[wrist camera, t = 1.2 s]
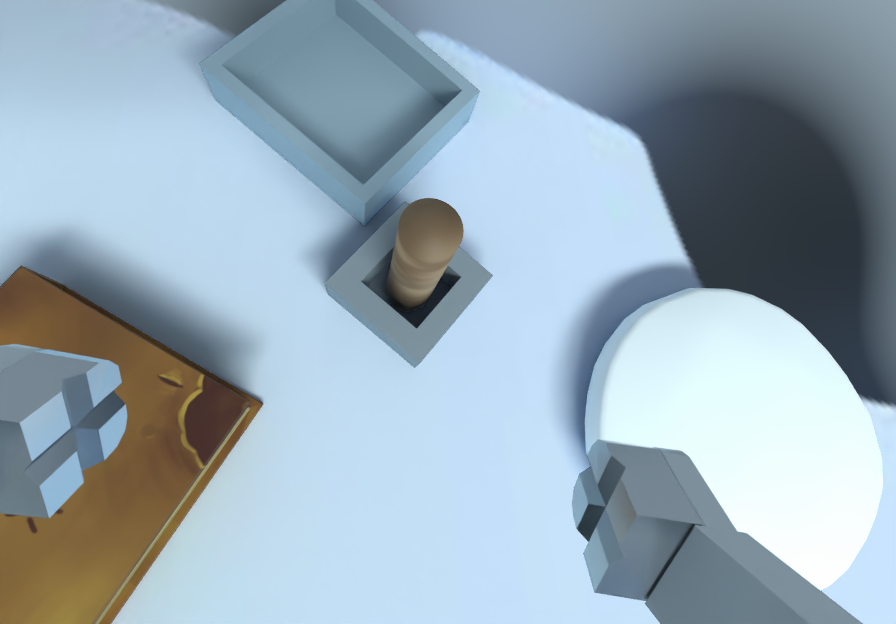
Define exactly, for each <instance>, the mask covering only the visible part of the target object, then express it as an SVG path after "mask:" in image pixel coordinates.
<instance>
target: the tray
mask: <svg viewBox="0 0 896 624" xmlns="http://www.w3.org/2000/svg"><path fill="white" fill-rule="evenodd" d="M199 65H200V67H201V69H202V71H203V73H204V76H205V78H206V80H207V82H208V84H209V87H210V89H211V91H212V93H213V95H214V98H215V100H216V101H217V102H218V103H220V104H221V105H222V106H223V107H224V108H225V109H227V110H228V111H229V112H230V113H231V114H233V115H234V116H235V117H236V118H237V119H238V120H240V121H241V122H242V123H243V124H244V125H246V126H247V127H248V128H249V129H250V130H251V131H253V132H254V133H255V134H256V135H257V136H259V137H260V138H261V139H262V140H263V141H264V142H266V143H267V144H268V145H269V146H270V147H272V148H273V149H274V150H275V151H276V152H277V153H279V154H280V155H281V156H282V157H283V158H284V159H286V160H287V161H288V162H289V163H290V164H292V165H293V166H294V167H295V168H296V169H297V170H299V171H300V172H301V173H302V174H303V175H305V176H306V177H307V178H308V179H309V180H310V181H312V182H313V183H314V184H315V185H316V186H318V187H319V188H320V189H321V190H322V191H323V192H325V193H326V194H327V195H328V196H329V197H331V198H332V199H333V200H334V201H335V202H336V203H338V204H339V205H340V206H341V207H342V208H344V209H345V210H346V211H347V212H348V213H349V214H351V215H352V216H353V217H354V218H355V219H357V220H358V221H359V222H360V223H361V224H362V225H364V226H365V225H366V224H367V223H368V222H369V221H370V220H371V219H372V218H373V217H374V216H375V215H376V214H377V213H378V212H379V211H380V210H381V209H382V208H383V207H384V206H385V205H386V204H387V203H388V202H389V201H390V200H391V199H392V198H393V197H394V196H395V195H396V194H397V193H398V192H399V191H400V190H401V189H402V188H403V187H404V186H405V185H406V184H407V183H408V182H409V181H410V180H411V179H412V178H413V177H414V176H415V175H416V174H417V173H418V172H419V171H420V170H421V169H422V168H423V167H424V166H425V165H426V164H427V163H428V162H429V161H430V160H431V159H432V158H433V157H434V156H435V155H436V154H437V153H438V152H439V151H440V150H441V149H442V148H443V147H444V146H445V145H446V144H447V143H448V142H449V141H450V140H451V139H452V138H453V137H454V136H455V135H456V134H457V133H458V132H459V131H460V130H461V129H462V128H463V127H464V126H465V125H466V124H467V123H468V122H469V119H470V117H471V114H472V111H473V109H474V106H475V103H476V100H477V98H478V95H479V92H480V91H479V90H478V89H477V88H476V87H475V86H474V85H472V84H471V83H470V82H469V81H468V80H466V79H465V78H464V77H463V76H462V75H461V74H459V73H458V72H457V71H456V70H455V69H453V68H452V67H451V66H450V65H449V64H448V63H446V62H445V61H444V60H443V59H442V58H440V57H439V56H438V55H437V54H436V53H435V52H433V51H432V50H431V49H430V48H429V47H427V46H426V45H425V44H424V43H423V42H422V41H420V40H419V39H418V38H417V37H416V36H414V35H413V34H412V33H411V32H410V31H408V30H407V29H406V28H405V27H404V26H403V25H401V24H400V23H399V22H398V21H397V20H396V19H394V18H393V17H392V16H391V15H389V14H388V13H387V12H386V11H385V10H384V9H382V8H381V7H380V6H379V5H378V4H376V3H375V2H374V1H373V0H286V1H285V2H283V3H282V4H280V5H279V6H278V7H276V8H275V9H274V10H272V11H271V12H269V13H268V14H267V15H265V16H264V17H262V18H261V19H260V20H258V21H257V22H256V23H254V24H253V25H251V26H250V27H249V28H247V29H246V30H245V31H243V32H242V33H240V34H239V35H238V36H236V37H235V38H233V39H232V40H231V41H229V42H228V43H227V44H225V45H224V46H222V47H221V48H220V49H218V50H217V51H215V52H214V53H213V54H211V55H210V56H209V57H207V58H206V59H204V60H203V61H202V62H200V63H199Z"/></svg>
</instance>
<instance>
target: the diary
mask: <svg viewBox="0 0 896 624" xmlns="http://www.w3.org/2000/svg"><path fill="white" fill-rule="evenodd" d="M10 344H19V345H24V346H30V347H36V348H41V349H45V350H46V349H49V350H55V351H60V352H66V353H71V354H76V355H82V356H87V357H93V358H98V359H104V360H109V361H111V362H113V363H114V364H116V365H118V367H119V371H120V376H121V380H122V383H121V384H120V385H119V387H118V388H117V389H116V390H115V391H114V392H115V393H116V394H117V395H118V396H119V397H120V398H121V400H122V401H123V402H124V403H125V404H126V410H127V422H126V429H125V432H124V434H123V436H122V438H121V440H120V442H119V444H118V446H117V447H116V448H115V449H114V451H113V452H112V453H111V454H110V455H109V456H108V457H107V458H106V459H105V460H104V461H102V462H100V463H98V464H96V465H93V466H91V467H89V468H87V469H85V470H84V483H83V484H82V485H81V486H80V487H79V488H78V489H77V490H76V491H75V492H74V493H73V494H72V495H71V496H70V497H69V498H68V499H67V500H66V502H65V503H64V504H63V505H62V506H61V507H60V508H59V509H58V510H57V511H56V512H55V513H54V514H53V515H52V516H51V517H50V518H40V517H31V516H22V515H12V514H3V513H0V624H111V623H112V622H113V620H114V619H115V617H116V616H117V614H118V613H119V611H120V610H121V609H122V607H123V606H124V604H125V603H126V601H127V600H128V598H129V597H130V596H131V594H132V593H133V591H134V590H135V588H136V587H137V586H138V584H139V583H140V581H141V580H142V578H143V577H144V575H145V574H146V573H147V571H148V570H149V568H150V567H151V565H152V564H153V562H154V561H155V560H156V558H157V557H158V555H159V554H160V552H161V551H162V550H163V548H164V547H165V545H166V544H167V542H168V541H169V539H170V538H171V537H172V535H173V534H174V532H175V531H176V529H177V528H178V526H179V525H180V524H181V522H182V521H183V519H184V518H185V516H186V515H187V513H188V512H189V511H190V509H191V508H192V506H193V505H194V503H195V502H196V501H197V499H198V498H199V496H200V495H201V493H202V492H203V490H204V489H205V488H206V486H207V485H208V483H209V482H210V480H211V479H212V477H213V476H214V475H215V473H216V472H217V470H218V469H219V467H220V466H221V465H222V463H223V462H224V460H225V459H226V457H227V456H228V454H229V453H230V452H231V450H232V449H233V447H234V446H235V444H236V443H237V441H238V440H239V439H240V437H241V436H242V434H243V433H244V431H245V430H246V429H247V427H248V426H249V424H250V423H251V421H252V420H253V418H254V417H255V416H256V414H257V413H258V411H259V410H260V408H261V407H262V405H263V404H262V403H261V402H259V401H257V400H256V399H254V398H252V397H251V396H249V395H247V394H246V393H244V392H242V391H240V390H239V389H237V388H235V387H234V386H232V385H230V384H229V383H227V382H225V381H224V380H222V379H220V378H219V377H217V376H215V375H214V374H212V373H210V372H208V371H207V370H205V369H203V368H202V367H200V366H198V365H197V364H195V363H193V362H192V361H190V360H188V359H187V358H185V357H183V356H182V355H180V354H178V353H176V352H175V351H173V350H171V349H170V348H168V347H166V346H165V345H163V344H161V343H160V342H158V341H156V340H155V339H153V338H151V337H150V336H148V335H146V334H144V333H143V332H141V331H139V330H138V329H136V328H134V327H133V326H131V325H129V324H128V323H126V322H124V321H123V320H121V319H119V318H118V317H116V316H114V315H112V314H111V313H109V312H107V311H106V310H104V309H102V308H101V307H99V306H97V305H96V304H94V303H92V302H91V301H89V300H87V299H86V298H84V297H82V296H80V295H79V294H77V293H75V292H74V291H72V290H70V289H69V288H67V287H65V286H64V285H62V284H60V283H58V282H56V281H54V280H52V279H50V278H47V277H45V276H43V275H41V274H39V273H36V272H34V271H32V270H30V269H27V268H25V267H23V266H20V267H19V268H18V269H17V270H16V271H15V272H14V273H13V274H12V275H11V276H10V277H9V278H8V279H7V280H6V281H5V282H4V283H3V284H2V285H1V286H0V346H1V345H10Z"/></svg>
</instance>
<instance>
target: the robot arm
mask: <svg viewBox="0 0 896 624" xmlns="http://www.w3.org/2000/svg"><path fill="white" fill-rule="evenodd" d="M121 383H122V380H121V376H120V371H119V367H118V365H116V364H114V363H113V362H111V361H109V360H104V359H98V358H93V357H87V356H82V355H76V354H71V353H66V352H60V351H55V350H49V349H46V350H45V349H41V348H36V347H30V346H24V345H19V344H10V345H1V346H0V513H3V514H12V515H22V516H31V517H40V518H50V517H51V516H52V515H53V514H54V513H55V512H56V511H57V510H58V509H59V508H60V507H61V506H62V505H63V504H64V503H65V502H66V500H67V499H68V498H69V497H70V496H71V495H72V494H73V493H74V492H75V491H76V490H77V489H78V488H79V487H80V486H81V485H82V484H83V483H84V470H85V469H87V468H89V467H91V466H93V465H96V464H98V463H100V462H102V461H104V460H105V459H106V458H107V457H108V456H109V455H110V454H111V453H112V452H113V451H114V449H115V448H116V447H117V446H118V444H119V442H120V440H121V438H122V436H123V434H124V432H125V429H126V422H127V410H126V404H125V403H124V402H123V401H122V400H121V398H120V397H119V396H118V395H117V394H116V393H115V392H114V391H115V390H116V389H117V388H118V387H119V385H120V384H121ZM587 456H588V459H589V462H590V465H591V467H589V468H588V469H586V470H585V471H583V472H582V473H580V474H579V476H578V479H577V481H576V484H575V486H574V491H573V500H572V507H573V517H574V520H575V524H576V528H577V530H578V531H579V532H580V533H581V534H582V535H583V536H584V538H585V539H586V540H587V541H588V545H587V547H586V549H585V551H584V553H583V554H584V557H585V561H586V564H587V568H588V571H589V575H590V579H591V582H592V586H593V589H594V592H595V593H601V594H607V595H613V596H619V597H625V598H631V599H637V600H643V601H646V603H645V604H646V606H647V607H648V608H649V610H650V611H651V612H652V613H653V615H654V616H655V617H656V619H657V620H658V621H659V622H660V624H862V623H861V622H860V621H859V620H857V619H856V618H855V617H853V616H852V615H851V614H850V613H848V612H847V611H846V610H844V609H843V608H842V607H841V606H839V605H838V604H837V603H836V602H834V601H833V600H832V599H830V598H829V597H828V596H827V595H825V594H824V593H823V592H822V591H820V590H819V589H818V588H816V587H815V586H814V585H813V584H811V583H810V582H809V581H807V580H806V579H805V578H804V577H802V576H801V575H800V574H799V573H797V572H796V571H795V570H793V569H792V568H791V567H790V566H788V565H787V564H786V563H784V562H783V561H782V560H781V559H779V558H778V557H777V556H776V555H774V554H773V553H772V552H770V551H769V550H768V549H767V548H765V547H764V546H763V545H762V544H760V543H759V542H758V541H756V540H755V539H754V538H753V537H751V536H750V535H749V534H747V533H744V532H738V531H737V530H736V528H735V527H734V525H733V524H732V522H731V521H730V519H729V518H728V516H727V514H726V513H725V511H724V510H723V508H722V507H721V505H720V504H719V502H718V500H717V499H716V497H715V496H714V494H713V493H712V491H711V490H710V488H709V486H708V485H707V483H706V482H705V480H704V479H703V477H702V476H701V474H700V472H699V471H698V469H697V468H696V466H695V465H694V463H693V462H692V460H691V458H690V457H689V456H688V455H687V454H685V453H684V452H683V451H680V450H672V449H665V448H658V447H653V448H651V447H646V446H639V445H633V444H626V443H620V442H613V441H607V440H600V439H598V440H597V441H596V442H595V443H594V444H593V445H592V447H591V449H590V451H589V453H588V455H587Z"/></svg>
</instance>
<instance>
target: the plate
mask: <svg viewBox="0 0 896 624" xmlns="http://www.w3.org/2000/svg"><path fill="white" fill-rule="evenodd" d="M598 439H600V440H607V441H613V442H620V443H626V444H633V445H639V446H646V447H651V448H653V447H658V448H665V449H672V450H680V451H683V452H684V453H685V454H687V455H688V456H689V457H690V458H691V460H692V462H693V463H694V465H695V466H696V468H697V469H698V471H699V472H700V474H701V476H702V477H703V479H704V480H705V482H706V483H707V485H708V486H709V488H710V490H711V491H712V493H713V494H714V496H715V497H716V499H717V500H718V502H719V504H720V505H721V507H722V508H723V510H724V511H725V513H726V514H727V516H728V518H729V519H730V521H731V522H732V524H733V525H734V527H735V528H736V530H737V531H738V532H744V533H747V534H749V535H750V536H751V537H753V538H754V539H755V540H756V541H758V542H759V543H760V544H762V545H763V546H764V547H765V548H767V549H768V550H769V551H770V552H772V553H773V554H774V555H776V556H777V557H778V558H779V559H781V560H782V561H783V562H784V563H786V564H787V565H788V566H790V567H791V568H792V569H793V570H795V571H796V572H797V573H799V574H800V575H801V576H802V577H804V578H805V579H806V580H807V581H809V582H810V583H811V584H813V585H814V586H815V587H816V588H818V589H819V590H821V589H824V588H826V587H828V586H830V585H831V584H832V583H833V582H834V581H835V580H837V579H838V578H839V577H840V576H841V575H842V574H843V573H844V572H845V571H846V570H847V569H848V568H849V567H850V565H851V563H852V562H853V560H854V559H855V557H856V555H857V554H858V552H859V550H860V549H861V547H862V545H863V544H864V542H865V540H866V539H867V537H868V534H869V532H870V529H871V527H872V524H873V522H874V519H875V517H876V514H877V510H878V505H879V501H880V497H881V493H882V488H883V477H882V456H881V452H880V449H879V445H878V442H877V438H876V434H875V431H874V427H873V423H872V420H871V416H870V414H869V412H868V411H867V409H866V407H865V406H864V404H863V402H862V401H861V399H860V397H859V396H858V394H857V392H856V391H855V389H854V387H853V386H852V384H851V383H850V381H849V379H848V378H847V376H846V374H845V373H844V372H843V370H842V369H841V368H840V367H839V365H838V364H837V362H836V361H835V360H834V359H833V357H832V356H831V355H830V354H829V352H828V351H827V350H826V349H825V348H824V347H823V346H822V344H821V343H820V342H819V341H817V339H816V338H815V337H814V336H813V335H812V334H811V333H810V332H809V331H808V330H807V329H806V328H805V327H804V326H803V325H802V324H801V323H800V322H798V321H797V320H796V319H794V318H793V317H792V316H790V315H789V314H788V313H786V312H785V311H783V310H782V309H781V308H778V307H776V306H774V305H772V304H770V303H768V302H766V301H764V300H762V299H760V298H757V297H756V296H754V295H750V294H747V293H743V292H739V291H735V290H731V289H714V288H687V289H684V290H682V291H679V292H676V293H674V294H671V295H668V296H666V297H663V298H660V299H657V300H655V301H652V302H649V303H647V304H644V305H643V306H641V307H640V308H639V309H637V310H636V311H634V312H633V313H632V314H630V315H629V316H628V317H626V318H625V319H624V320H623V321H622V323H621V324H620V325H619V327H618V328H617V329H616V330H615V332H614V333H613V334H612V336H611V337H610V338H609V339H608V341H607V342H606V343H605V345H604V347H603V349H602V351H601V353H600V355H599V357H598V360H597V362H596V364H595V366H594V369H593V373H592V377H591V381H590V385H589V389H588V394H587V403H586V413H585V443H586V454H587V455H588V453H589V451H590V449H591V447H592V445H593V444H594V443H595V442H596V441H597V440H598Z"/></svg>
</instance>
